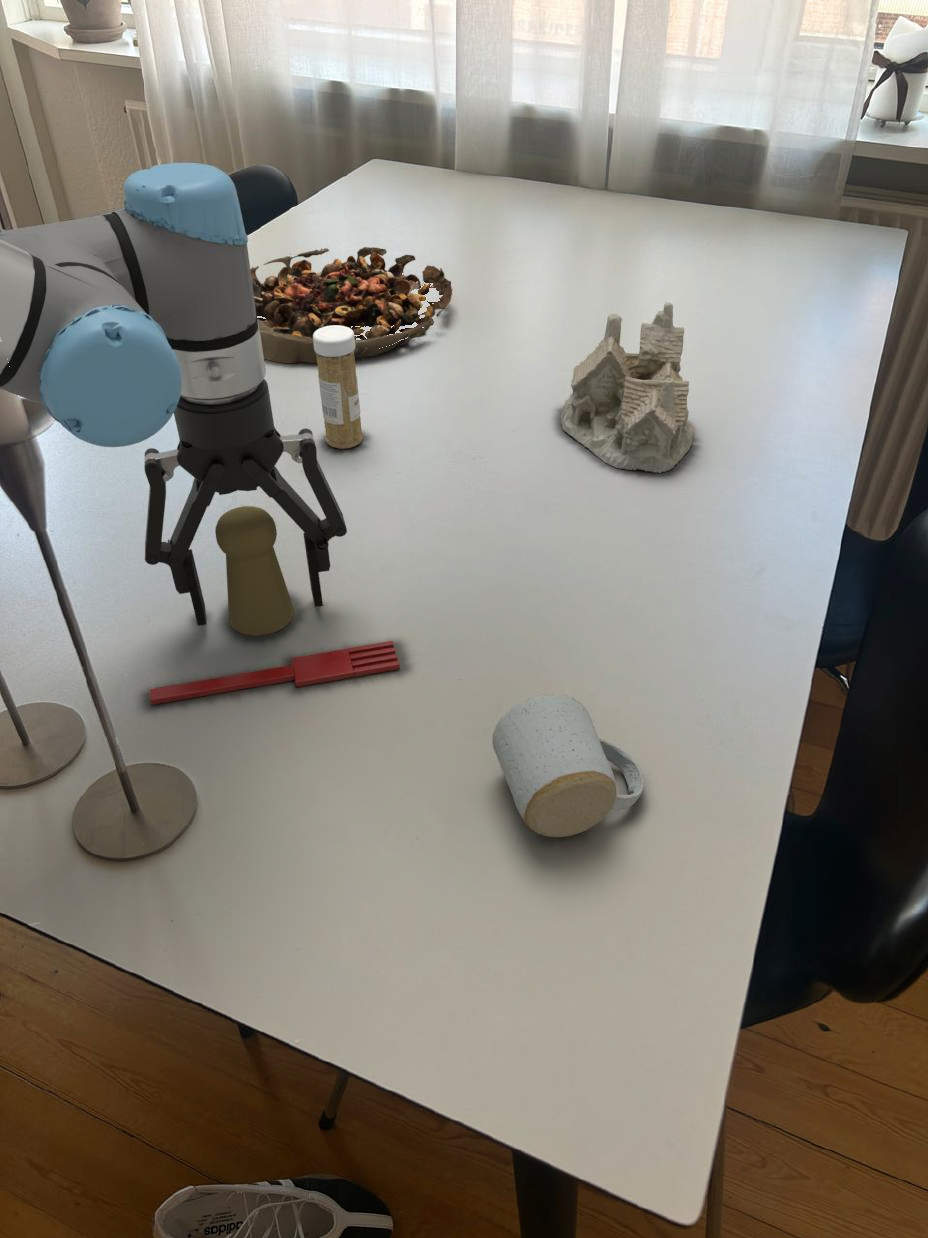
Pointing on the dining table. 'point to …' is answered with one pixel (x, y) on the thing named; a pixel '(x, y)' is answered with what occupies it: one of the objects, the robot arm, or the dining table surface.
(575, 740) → the ceramic mug
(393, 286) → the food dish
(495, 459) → the dining table surface
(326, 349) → the sprinkles bottle
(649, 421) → the ceramic cottage
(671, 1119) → the dining table surface
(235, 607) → the tan peg doll
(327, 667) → the fork
